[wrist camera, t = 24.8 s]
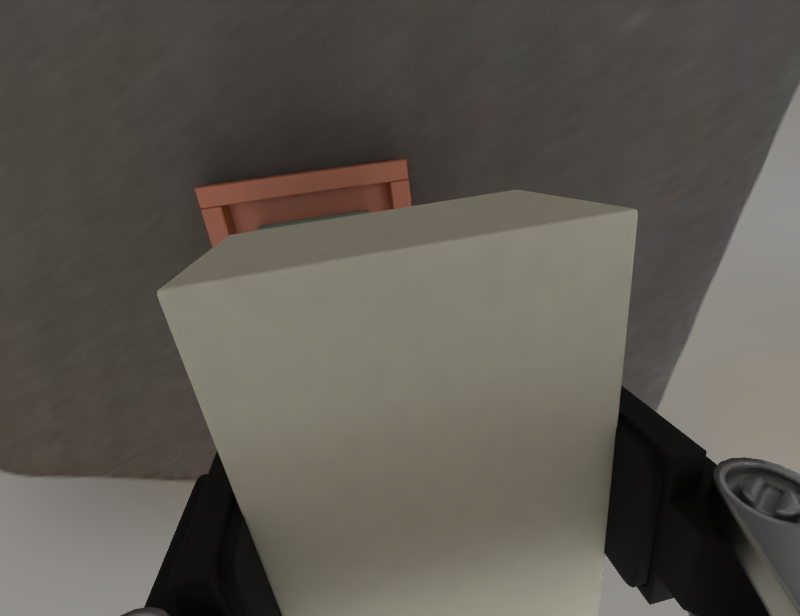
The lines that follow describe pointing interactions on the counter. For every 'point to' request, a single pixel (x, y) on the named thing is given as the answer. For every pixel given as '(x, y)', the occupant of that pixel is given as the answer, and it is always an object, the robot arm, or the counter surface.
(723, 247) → the counter surface
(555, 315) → the pad top
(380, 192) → the holder
